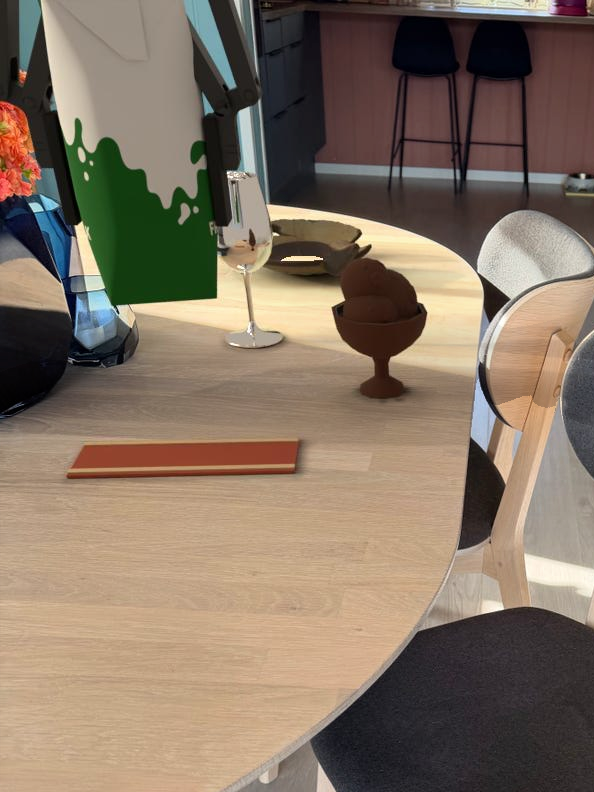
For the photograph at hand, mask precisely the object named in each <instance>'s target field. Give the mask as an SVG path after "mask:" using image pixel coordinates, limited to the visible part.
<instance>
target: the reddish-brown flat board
mask: <svg viewBox="0 0 594 792" xmlns="http://www.w3.org/2000/svg"><path fill="white" fill-rule="evenodd" d="M82 446H83V447H82V448H81V450H80V452H79V454H78V455H77V457H76V459H75V460H74V462H73V464H72V466H71V467H70V468H68V469H67V472H66V479H93V478H94V479H95V478H135V477H137V478H138V477H139V478H140V477H175V476H176V477H177V476H180V477H181V476H183V477H184V476H185V477H186V476H221V475H222V476H223V475H224V476H225V475H268V474H269V475H270V474H273V475H274V474H295V472H296V465H297V458H298V452H299V446H300V437H251V438H249V437H248V438H245V437H244V438H203V439H199V438H195V439H193V438H192V439H149V440H146V439H145V440H98V441H84V442H83V445H82Z"/></svg>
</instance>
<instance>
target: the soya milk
mask: <svg viewBox="0 0 594 792" xmlns="http://www.w3.org/2000/svg"><path fill="white" fill-rule="evenodd" d="M37 3H38V6H39V10H40V15H41V16H42V22H43V26H44V29H45V37H46V45H47V52H48V60H49V66H50V72H51V78H52V85H53V92H54V93H53V96H54V101H55V102H54V103H55V106H56V110H57V111H58V116H59V120H60V125H61V130H62V135H63V139H64V144H65V149H66V154H67V158H68V163H69V168H70V172H71V177H72V182H73V186H74V191H75V196H76V200H77V203H78V207H79V210H80V214H81V219H82V222H81V223H82V225H83V229H84V232H85V235H86V238H87V240H88V245H89V246H90V249H91V252H92V255H93V258H94V261H95V264H96V266H97V269H98V272H99V275H100V277H101V280H102V283H103V286H104V289H105V291H106V294H107V298H108V300H109V302H110V306H112V307H115V306H132V305H145V304H161V303H173V302H188V301H202V300H203V301H204V300H215V299H218V260H219V258H218V227H217V226H216V218H215V211H214V203H213V196H212V188H211V181H210V173H209V166H208V158H207V150H206V143H205V135H204V128H203V120H202V118H204V117H205V116H206V110H205V103H204V94H203V92H202V90H201V89H200V87H199V85H198V84H197V82H196V80H195V79H194V68H193V43H192V37H191V32H190V28H189V24H188V19H187V16H188V14H187V11H186V6H185V2H184V0H37ZM186 14H187V15H186Z"/></svg>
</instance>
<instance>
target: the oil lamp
mask: <svg viewBox="0 0 594 792" xmlns="http://www.w3.org/2000/svg"><path fill="white" fill-rule="evenodd" d="M270 221H271V226H272V231H273V234H277V235H273V249H272V253H271V255H270V257H269V259H268V261H267V262H266V263H265V264H264V265H263V266H262V267H263V268H264V269H265V268H266V269H269V270H271V271H274V272H278V273H282V272H283V273H282V274H287V275H294V276H296V274H317V275H324V274H329V275H331V276H333V277H339V276H340V277H341V274H342V272H343V271H344V269H345V268H346V267H347V265H348V264H349V263H350V262H352V261H355V260H357V259H361V258H365V256H366V255H368V253H369V252H370V251H371V250H372V248H373V247H372V244H371V243H369V244H367V245H364V246H360V245H359V243H358V242H357V241H358V240H359V239H360V238H361V237H362V235H363V232H362V230H361V229H360V228H358V227H355V226H354V225H351V224H347V223H346V224H345V223H343V222H340V221H334V220H328V219H327V220H326V219H305V218H298V219H296V218H292V219H287V218H280V219H275V220H270ZM291 256H316V257H320V258H323V260H314V261H281V260H282V259H284V258H286V257H291ZM288 273H290V274H288Z"/></svg>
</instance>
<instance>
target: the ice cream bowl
mask: <svg viewBox="0 0 594 792" xmlns="http://www.w3.org/2000/svg"><path fill="white" fill-rule="evenodd" d="M339 284H340V290H341V293H342V295H343V298H344V300H343V301H341V302H339V303H337V304H335V305H333V306H331V307H330V308H331V312H332V316H333V320H334V324H335V328H336V330H337V332H338V334H339V336H340V339H341V340H342V341H343V342H344V343H345V344H346V345H347V346H348V347H349V348H351V349H352V350H354V351H356V352H357V353H359V354H361V355H364V356H366V357H369V358H371V359H372V361H373V366H374V375H373V376H371V377H370V378H368V379H366V380H365V381H363V382H362V383H360V386H359V392H360V394H361V395H363V396H366V397H368V398H370V399H392V398H395V397H400V396H401V395H403V394H404V393H405V392H406V389H405V385H404V383H403V381H401V380H400V379H397V378H396V377H394V376H392V375H390V367H389V363H390V360H391V358H394V357H396V356H398V355H400V354H401V353H403V352H405V350H407V349H408V348H410V347H411V346H412V345H414V343H416V341H417V340H418V339H420V337H421V336H422V334H423V332H424V330H425V327H426V325H427V324H426V323H427V319H428V311H427V309H426V306H425V305H424V303H423V302H419V300H418V295H417V292H416V289H415V287H414V285H412V283H411V282H410V281H409V279H407V278H406V276H405V275H404V274H403V273H400V272H398V271H396V270H393V269H390V268H387V267H386V266H385V264H384V263H383V262H381V261H380V260H378V259H374V258H370V257H362V258H361V259H357V260H355V261H352V262H350V263H349V264H348V265H347V267H346V268H345V269H344V271H343V272H342V274H341V275H340V279H339Z"/></svg>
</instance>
